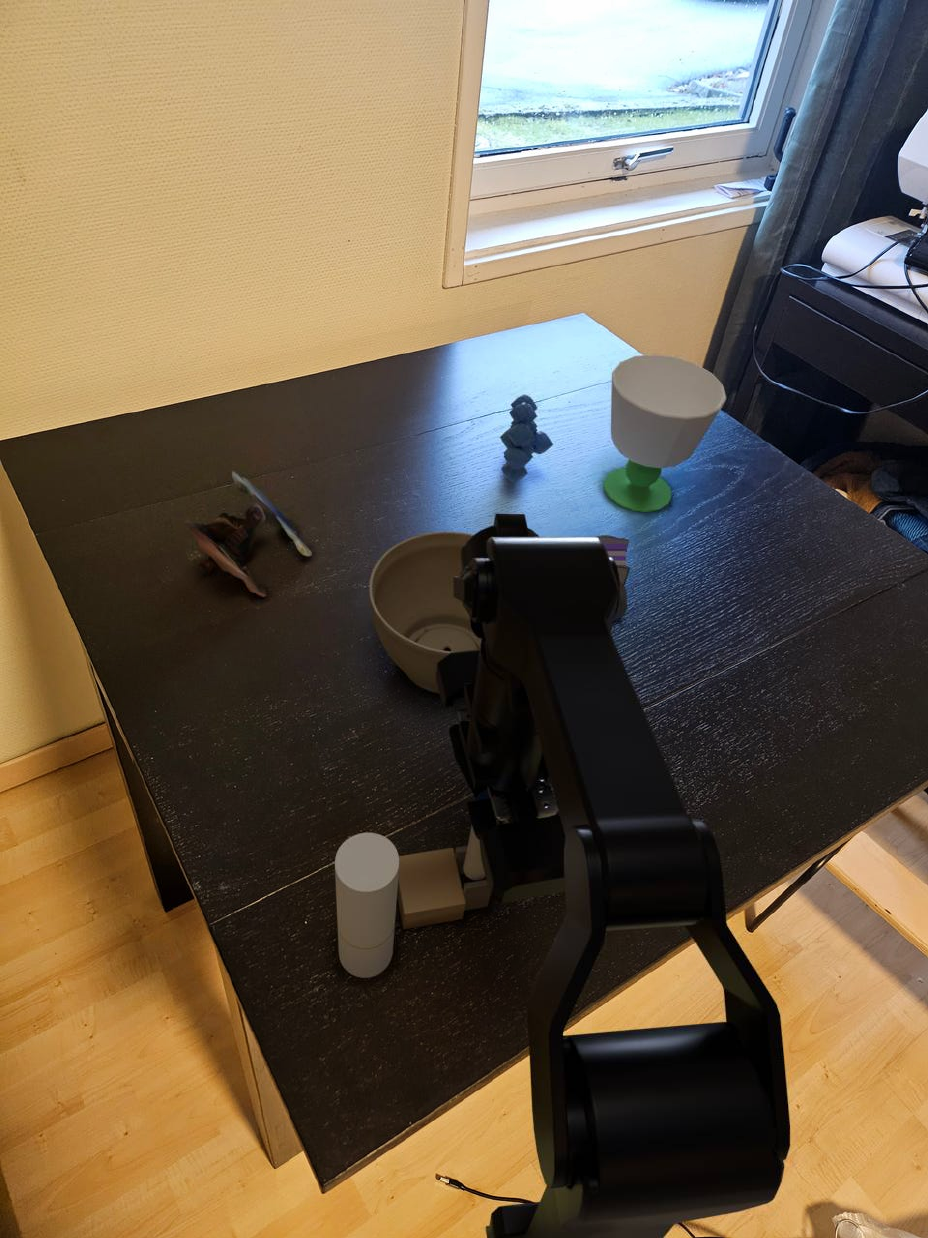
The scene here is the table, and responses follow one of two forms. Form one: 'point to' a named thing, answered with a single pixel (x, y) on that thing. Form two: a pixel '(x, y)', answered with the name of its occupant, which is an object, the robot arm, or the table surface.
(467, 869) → the marker
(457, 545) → the planter bowl
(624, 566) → the toy race car
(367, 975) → the tube
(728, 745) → the table surface
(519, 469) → the grapes
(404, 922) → the tan block with prongs
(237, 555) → the figurine
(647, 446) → the cup
